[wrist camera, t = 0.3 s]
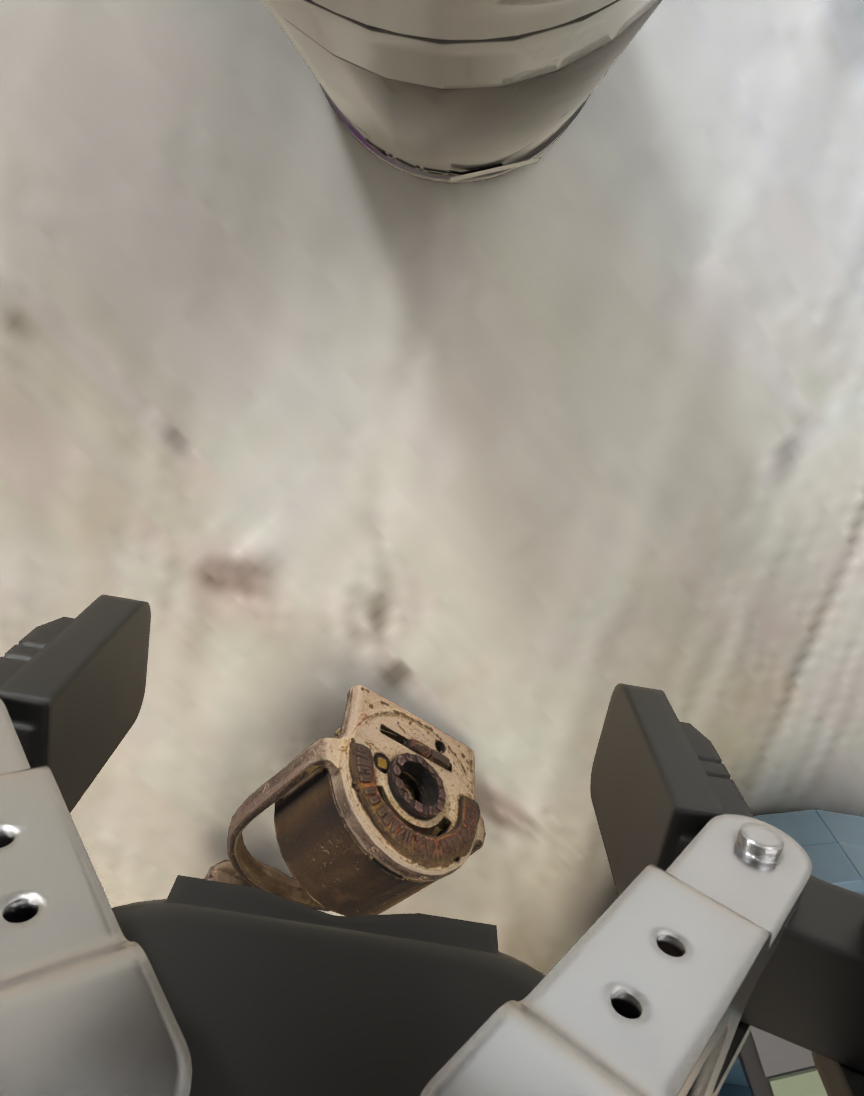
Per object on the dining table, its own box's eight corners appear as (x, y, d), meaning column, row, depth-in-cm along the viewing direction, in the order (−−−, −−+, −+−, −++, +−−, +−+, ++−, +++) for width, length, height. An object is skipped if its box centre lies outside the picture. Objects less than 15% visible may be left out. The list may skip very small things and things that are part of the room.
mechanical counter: (555, 931, 30) (433, 759, 26) (256, 1077, 31) (86, 937, 27) (507, 792, 37) (403, 633, 32) (260, 918, 38) (123, 781, 33)
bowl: (639, 768, 34) (669, 848, 30) (1034, 834, 35) (1126, 922, 30) (549, 1070, 40) (562, 1178, 35) (893, 1122, 40) (951, 1235, 36)
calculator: (688, 905, 36) (710, 963, 33) (827, 868, 35) (863, 924, 32) (742, 1070, 38) (767, 1137, 36) (871, 1038, 38) (908, 1104, 35)
